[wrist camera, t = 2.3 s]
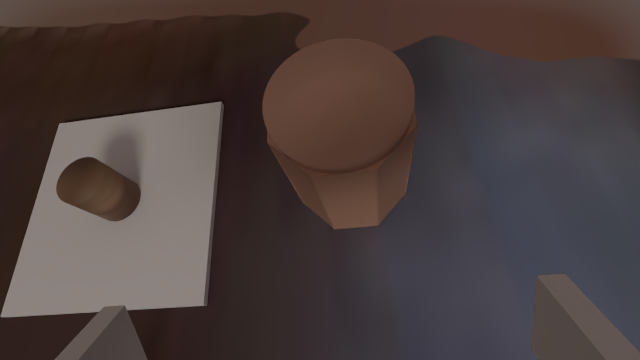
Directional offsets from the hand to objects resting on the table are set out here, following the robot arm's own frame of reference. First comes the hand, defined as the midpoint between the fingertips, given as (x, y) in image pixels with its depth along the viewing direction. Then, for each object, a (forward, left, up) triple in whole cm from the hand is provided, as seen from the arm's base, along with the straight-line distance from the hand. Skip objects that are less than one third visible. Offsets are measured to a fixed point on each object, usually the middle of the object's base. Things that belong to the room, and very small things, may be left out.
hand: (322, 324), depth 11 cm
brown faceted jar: (-1, -11, -14) cm, 18 cm away
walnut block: (+19, -11, -13) cm, 26 cm away
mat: (+19, -11, -14) cm, 26 cm away
